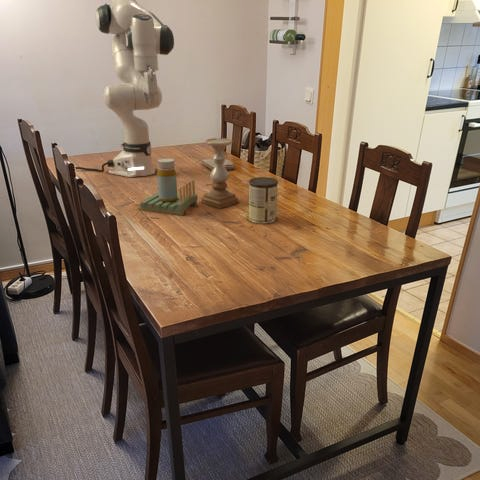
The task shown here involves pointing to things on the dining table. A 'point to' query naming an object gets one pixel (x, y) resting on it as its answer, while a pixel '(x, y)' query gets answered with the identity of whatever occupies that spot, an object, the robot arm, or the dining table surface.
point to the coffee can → (262, 199)
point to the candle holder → (219, 177)
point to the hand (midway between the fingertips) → (149, 105)
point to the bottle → (167, 180)
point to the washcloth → (211, 164)
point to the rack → (170, 207)
